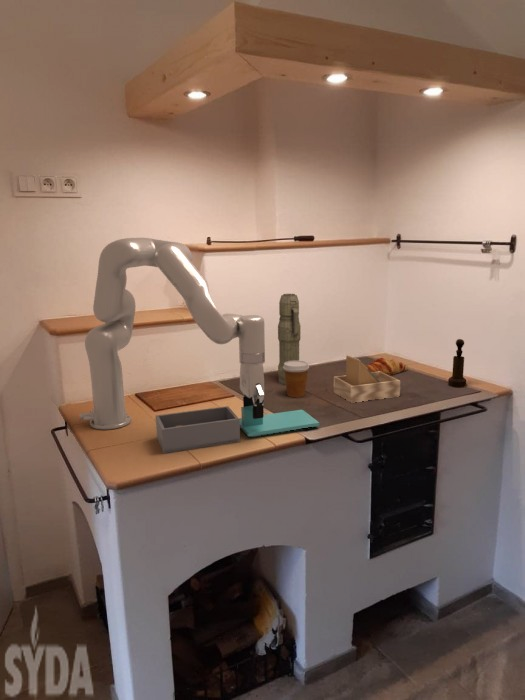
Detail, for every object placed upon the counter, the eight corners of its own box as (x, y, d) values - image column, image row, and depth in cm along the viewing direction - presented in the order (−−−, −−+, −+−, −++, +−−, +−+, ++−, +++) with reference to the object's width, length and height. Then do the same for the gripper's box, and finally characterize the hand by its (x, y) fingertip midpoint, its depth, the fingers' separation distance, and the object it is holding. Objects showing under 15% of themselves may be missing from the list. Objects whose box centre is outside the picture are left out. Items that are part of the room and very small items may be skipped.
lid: (248, 439, 154) (247, 415, 152) (235, 424, 166) (235, 402, 164) (319, 428, 161) (319, 405, 160) (302, 415, 173) (302, 393, 171)
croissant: (402, 376, 228) (398, 358, 230) (415, 371, 219) (411, 352, 221) (359, 380, 221) (355, 362, 223) (370, 375, 212) (366, 356, 214)
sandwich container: (394, 395, 193) (395, 355, 189) (358, 401, 187) (359, 360, 183) (380, 389, 200) (381, 350, 197) (345, 394, 194) (346, 354, 191)
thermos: (289, 387, 203) (288, 297, 195) (271, 380, 212) (270, 293, 204) (307, 383, 207) (307, 295, 199) (289, 377, 217) (289, 292, 209)
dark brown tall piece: (451, 381, 207) (454, 336, 203) (468, 384, 204) (471, 338, 200) (445, 385, 202) (448, 339, 198) (463, 388, 198) (466, 341, 194)
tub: (163, 453, 145) (162, 429, 144) (157, 437, 156) (155, 415, 155) (240, 441, 152) (239, 419, 151) (228, 427, 163) (227, 406, 162)
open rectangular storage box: (351, 403, 184) (351, 386, 183) (333, 392, 197) (333, 376, 195) (399, 396, 190) (400, 380, 189) (379, 386, 203) (379, 371, 201)
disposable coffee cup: (279, 397, 191) (279, 365, 189) (287, 390, 200) (287, 359, 197) (305, 400, 188) (305, 367, 185) (311, 392, 197) (312, 361, 194)
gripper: (231, 352, 163) (233, 405, 166) (249, 365, 147) (250, 424, 151) (254, 350, 165) (255, 403, 169) (274, 363, 149) (275, 421, 153)
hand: (253, 413), depth 160 cm, fingers open, 8 cm apart
